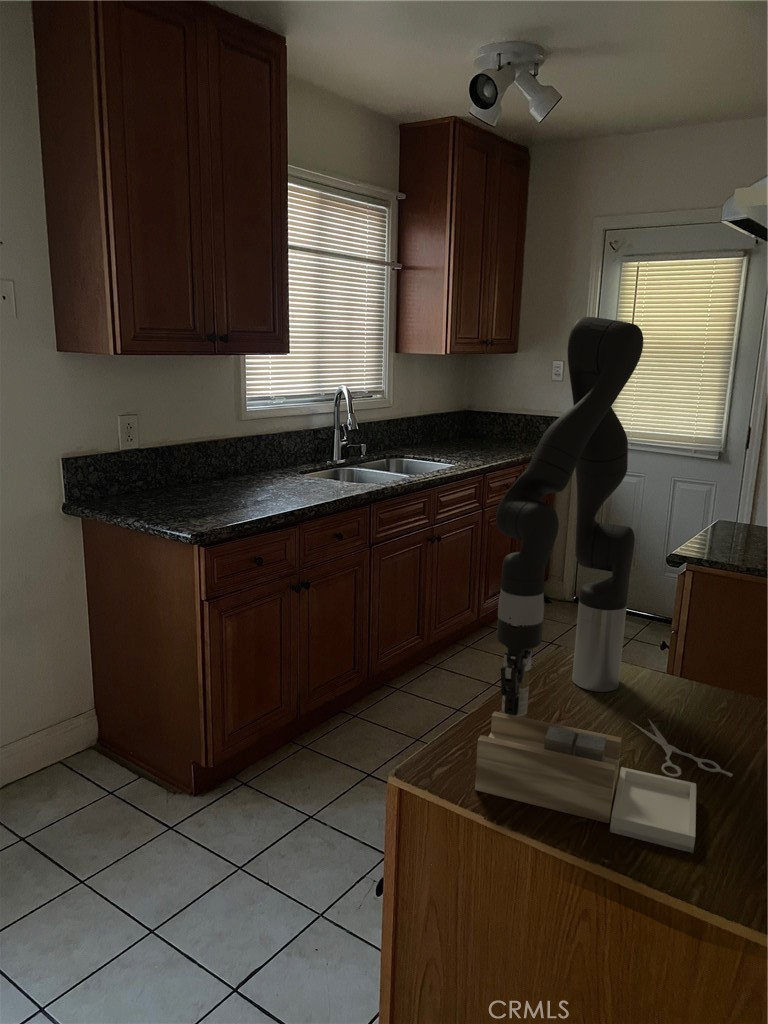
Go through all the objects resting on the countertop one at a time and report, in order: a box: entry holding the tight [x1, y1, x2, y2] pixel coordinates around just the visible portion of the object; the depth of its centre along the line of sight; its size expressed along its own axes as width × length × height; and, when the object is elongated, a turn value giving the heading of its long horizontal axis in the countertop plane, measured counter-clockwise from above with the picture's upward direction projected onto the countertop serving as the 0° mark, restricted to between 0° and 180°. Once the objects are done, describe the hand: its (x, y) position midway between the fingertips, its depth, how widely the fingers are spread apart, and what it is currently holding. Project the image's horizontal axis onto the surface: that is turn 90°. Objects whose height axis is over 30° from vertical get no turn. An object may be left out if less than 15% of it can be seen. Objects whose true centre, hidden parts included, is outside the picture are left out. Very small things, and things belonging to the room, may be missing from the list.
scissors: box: [629, 718, 734, 778], centre depth 131 cm, size 11×1×20 cm
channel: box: [474, 711, 622, 824], centre depth 116 cm, size 10×20×8 cm, turn 68°
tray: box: [609, 766, 697, 854], centre depth 111 cm, size 14×11×2 cm
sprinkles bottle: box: [501, 657, 532, 718], centre depth 130 cm, size 5×5×14 cm
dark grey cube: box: [574, 732, 606, 762], centre depth 113 cm, size 4×4×4 cm
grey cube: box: [544, 726, 576, 756], centre depth 115 cm, size 4×4×4 cm
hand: (514, 707), depth 131 cm, fingers closed on sprinkles bottle, 4 cm apart
